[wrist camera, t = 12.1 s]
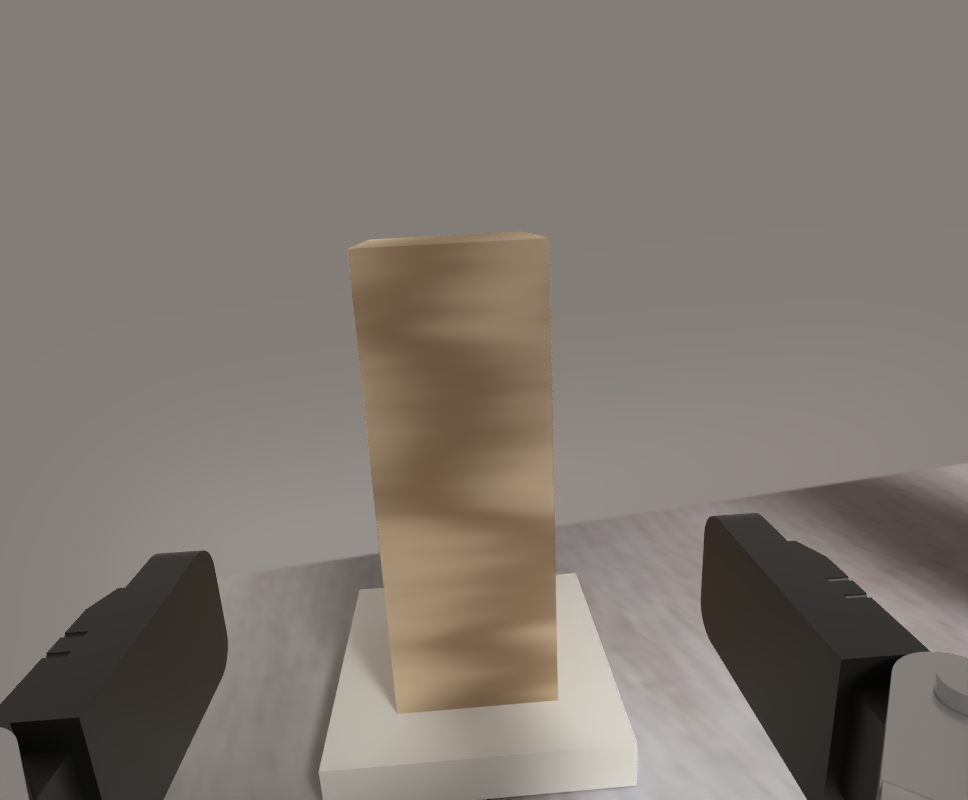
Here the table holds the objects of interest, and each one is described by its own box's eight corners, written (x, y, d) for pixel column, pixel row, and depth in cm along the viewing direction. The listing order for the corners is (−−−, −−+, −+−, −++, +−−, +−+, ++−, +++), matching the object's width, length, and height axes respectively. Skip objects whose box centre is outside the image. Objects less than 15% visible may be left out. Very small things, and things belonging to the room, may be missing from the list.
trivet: (576, 604, 27) (576, 573, 27) (636, 785, 19) (637, 744, 18) (363, 620, 27) (359, 589, 27) (324, 813, 18) (318, 772, 18)
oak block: (536, 605, 25) (524, 231, 21) (558, 700, 20) (548, 238, 16) (406, 616, 25) (369, 239, 21) (397, 714, 20) (347, 248, 16)
